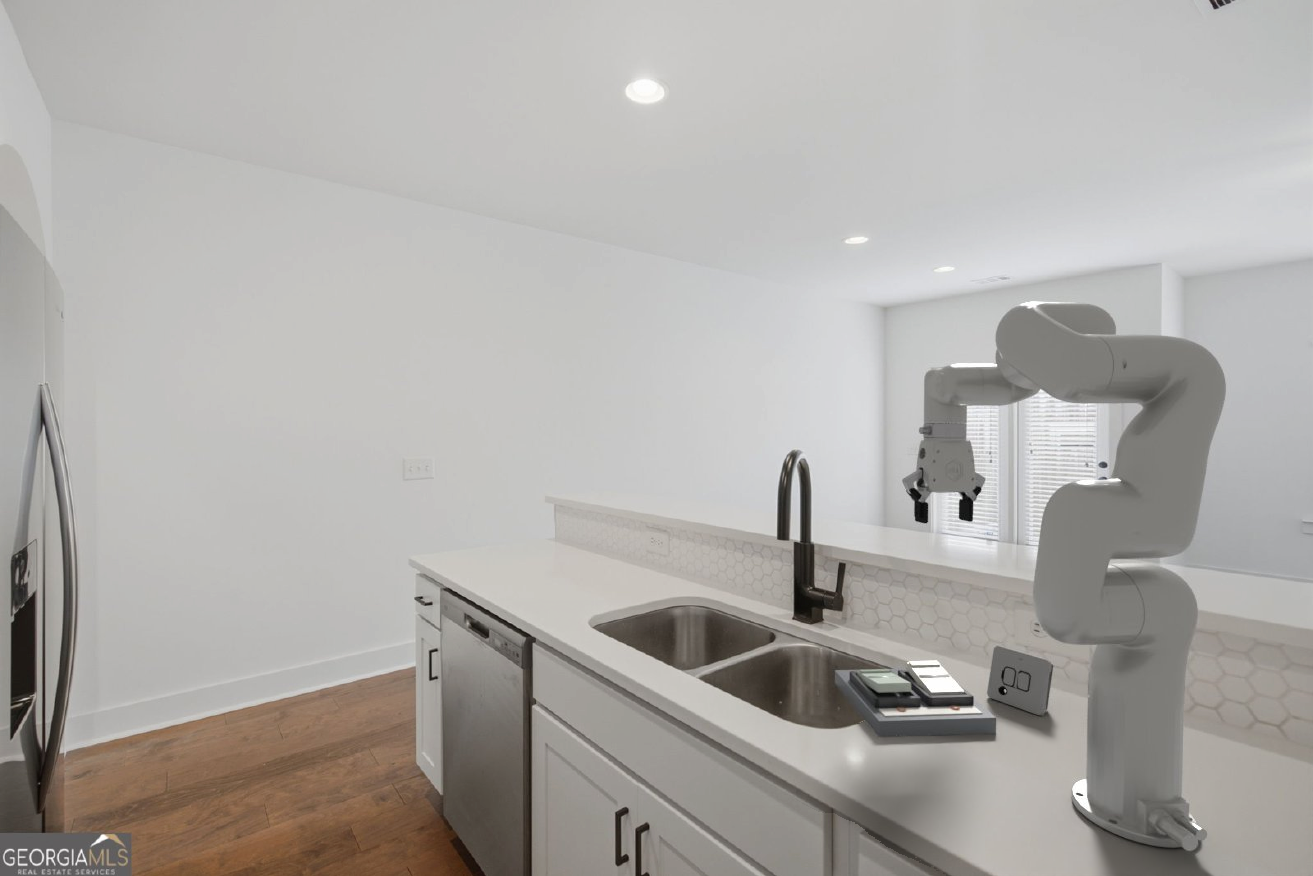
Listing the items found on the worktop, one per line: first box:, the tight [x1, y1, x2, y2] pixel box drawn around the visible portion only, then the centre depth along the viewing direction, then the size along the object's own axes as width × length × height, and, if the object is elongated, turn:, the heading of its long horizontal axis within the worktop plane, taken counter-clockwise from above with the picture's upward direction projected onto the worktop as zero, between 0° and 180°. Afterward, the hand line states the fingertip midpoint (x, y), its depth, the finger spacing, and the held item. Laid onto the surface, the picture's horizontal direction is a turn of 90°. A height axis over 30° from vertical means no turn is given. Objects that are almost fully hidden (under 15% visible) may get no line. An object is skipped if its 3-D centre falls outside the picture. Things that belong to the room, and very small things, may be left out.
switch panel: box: [834, 668, 997, 738], centre depth 108 cm, size 20×19×4 cm
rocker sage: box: [858, 668, 912, 692], centre depth 108 cm, size 9×6×2 cm, turn 4°
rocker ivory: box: [906, 660, 964, 695], centre depth 109 cm, size 9×6×2 cm, turn 4°
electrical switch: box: [986, 645, 1054, 717], centre depth 110 cm, size 9×5×9 cm, turn 35°
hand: (943, 521), depth 121 cm, fingers open, 9 cm apart
